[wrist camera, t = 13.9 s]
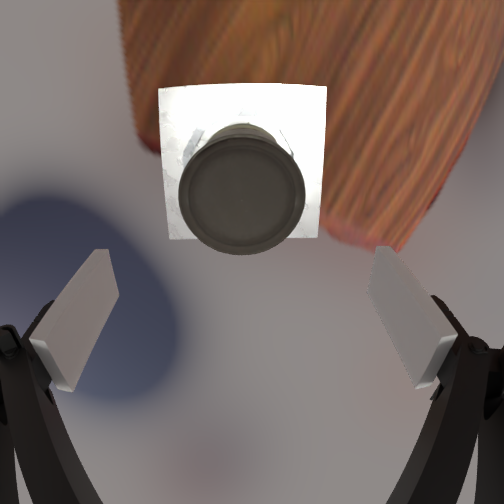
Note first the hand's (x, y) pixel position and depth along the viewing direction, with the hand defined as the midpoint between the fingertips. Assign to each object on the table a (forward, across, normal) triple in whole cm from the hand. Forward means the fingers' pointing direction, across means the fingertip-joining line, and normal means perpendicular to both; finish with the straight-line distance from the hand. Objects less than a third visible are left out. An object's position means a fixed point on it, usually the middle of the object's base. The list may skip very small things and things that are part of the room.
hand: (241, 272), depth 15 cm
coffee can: (+26, 0, 0) cm, 26 cm away
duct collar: (+26, 0, 0) cm, 26 cm away
